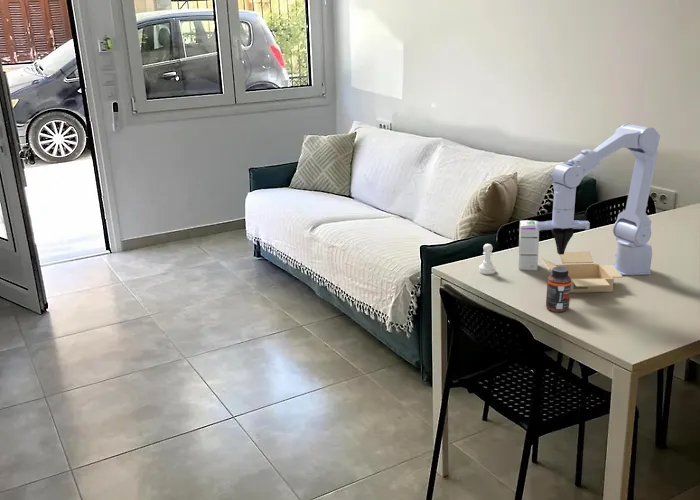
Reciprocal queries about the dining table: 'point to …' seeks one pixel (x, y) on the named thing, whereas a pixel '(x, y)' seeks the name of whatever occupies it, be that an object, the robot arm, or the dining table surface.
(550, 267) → the flap long
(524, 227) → the syrup box
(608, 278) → the carton
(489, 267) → the chess pawn
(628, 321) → the dining table surface
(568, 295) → the supplement bottle
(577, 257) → the flap short
